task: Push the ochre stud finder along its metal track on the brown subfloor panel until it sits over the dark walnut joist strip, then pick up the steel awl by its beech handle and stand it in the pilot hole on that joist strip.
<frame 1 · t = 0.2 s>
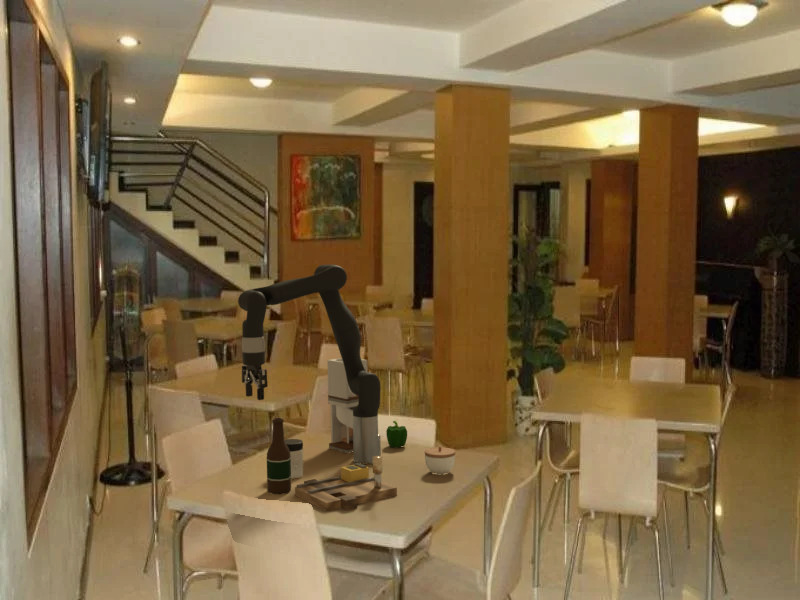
hand: (254, 398, 286), 29 cm above the table, tool pointing down, fingers open, 8 cm apart
beer bottle: (279, 491, 278), on the table
lidded jar: (440, 473, 297), on the table
bell pepper: (397, 447, 335), on the table
jar: (291, 476, 296), on the table
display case: (348, 449, 333), on the table
stud finder: (354, 472, 281), point 5 cm above the table, slide at 0.0 cm
subfloor panel: (345, 495, 272), on the table
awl: (377, 487, 272), point 2 cm above the table, touching subfloor panel
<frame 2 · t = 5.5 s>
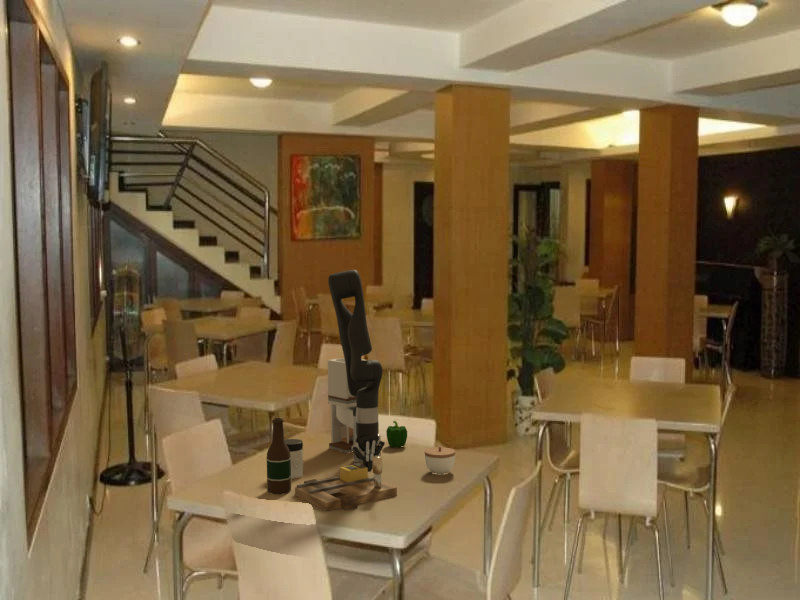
hand: (367, 471, 283), 5 cm above the table, tool pointing down, fingers closed
stud finder: (353, 472, 280), point 5 cm above the table, slide at 0.4 cm, touching gripper
everything else where it was.
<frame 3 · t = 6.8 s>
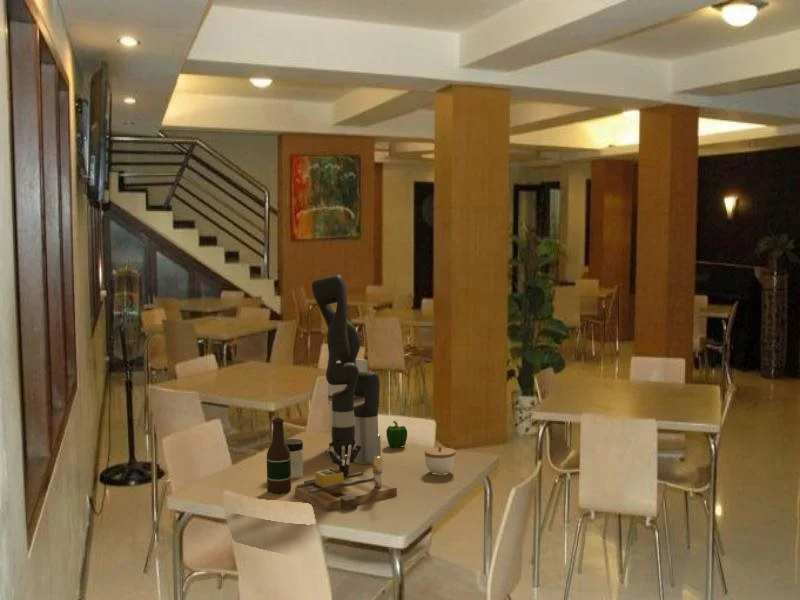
hand: (343, 476, 278), 5 cm above the table, tool pointing down, fingers closed
stud finder: (329, 477, 275), point 5 cm above the table, slide at 9.8 cm, touching gripper
everything else where it was.
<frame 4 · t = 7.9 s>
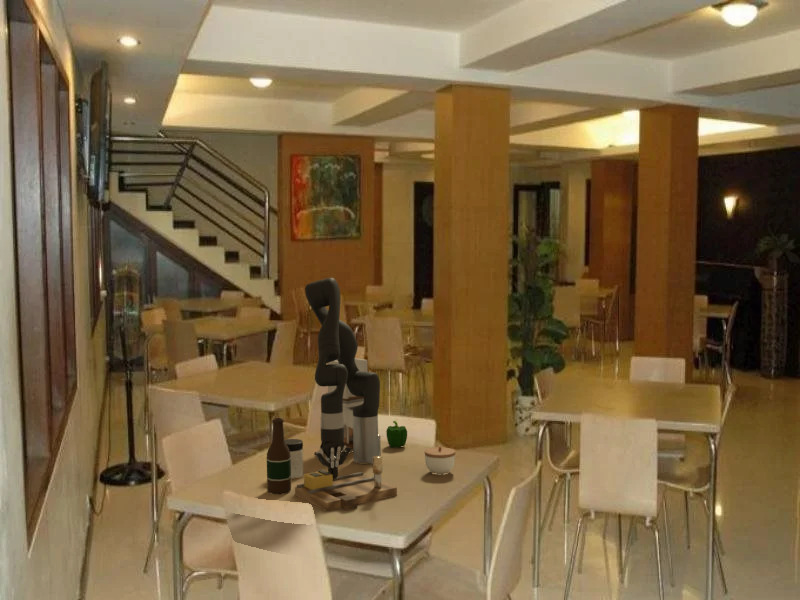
hand: (333, 478, 276), 5 cm above the table, tool pointing down, fingers closed
stud finder: (318, 479, 273), point 5 cm above the table, slide at 13.9 cm, touching gripper
everything else where it was.
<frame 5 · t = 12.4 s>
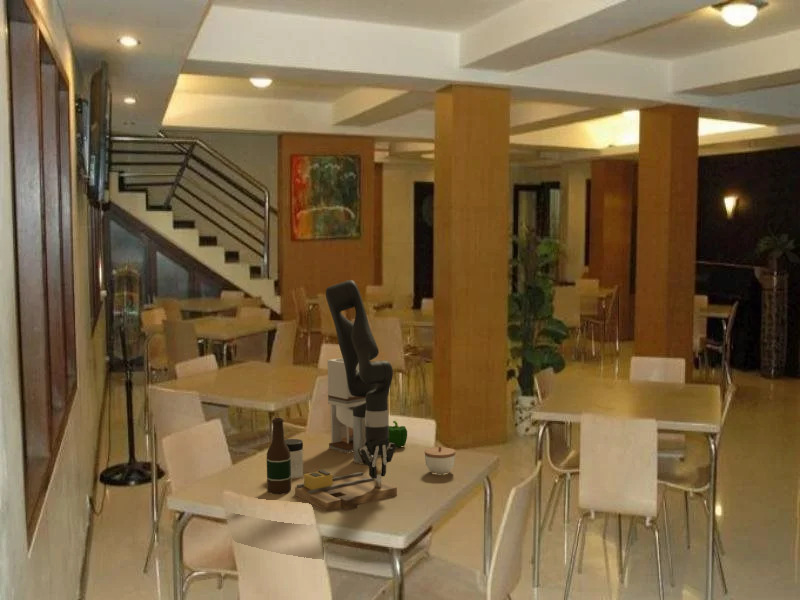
hand: (377, 476, 271), 6 cm above the table, tool pointing down, fingers closed on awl, 3 cm apart
stud finder: (318, 479, 273), point 5 cm above the table, slide at 13.9 cm
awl: (377, 487, 272), point 3 cm above the table, touching gripper, subfloor panel
everything else where it was.
when the fingers open (5 cm above the table, at t = 17.7 s): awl drops 1 cm, resting in subfloor panel.
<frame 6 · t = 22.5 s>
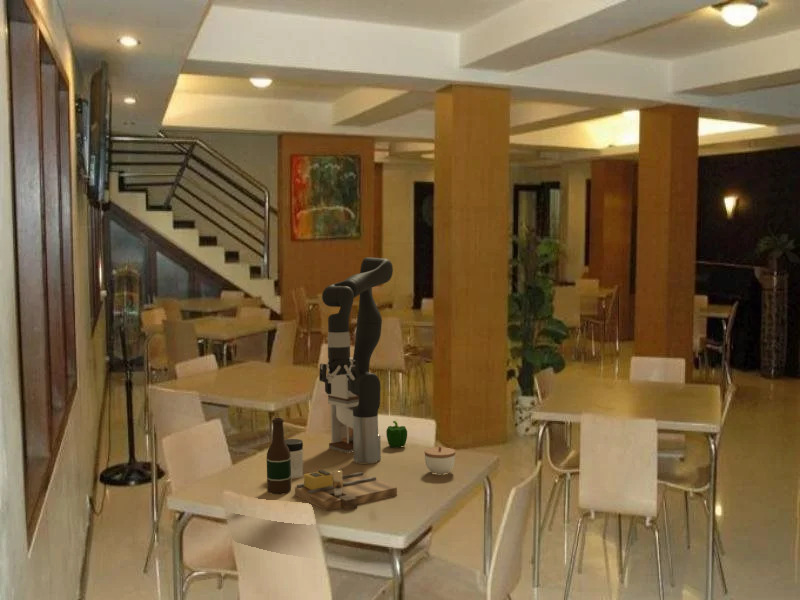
hand: (339, 392, 288), 30 cm above the table, tool pointing down, fingers open, 8 cm apart
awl: (338, 502, 265), resting in subfloor panel
everything else where it was.
at the end: stud finder slide at 13.9 cm; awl 0.0 cm from the target spot on the subfloor panel, point 0.0 cm above the subfloor panel's base; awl tilted 0° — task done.
